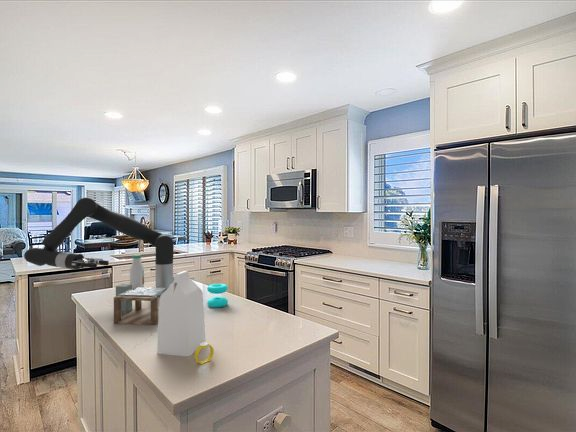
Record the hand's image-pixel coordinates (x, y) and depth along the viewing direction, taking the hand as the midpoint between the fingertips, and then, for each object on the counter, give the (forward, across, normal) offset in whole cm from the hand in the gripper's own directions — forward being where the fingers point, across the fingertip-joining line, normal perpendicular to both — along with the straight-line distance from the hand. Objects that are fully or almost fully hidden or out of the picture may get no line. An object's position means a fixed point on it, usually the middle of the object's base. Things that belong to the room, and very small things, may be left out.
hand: (102, 264), depth 153 cm
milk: (+56, -37, +18) cm, 69 cm away
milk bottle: (-4, +42, +21) cm, 48 cm away
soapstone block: (+13, 0, +20) cm, 24 cm away
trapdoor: (+25, -8, +11) cm, 28 cm away
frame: (+27, -8, +19) cm, 34 cm away
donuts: (+54, +12, +16) cm, 57 cm away
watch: (+67, -47, +17) cm, 83 cm away
